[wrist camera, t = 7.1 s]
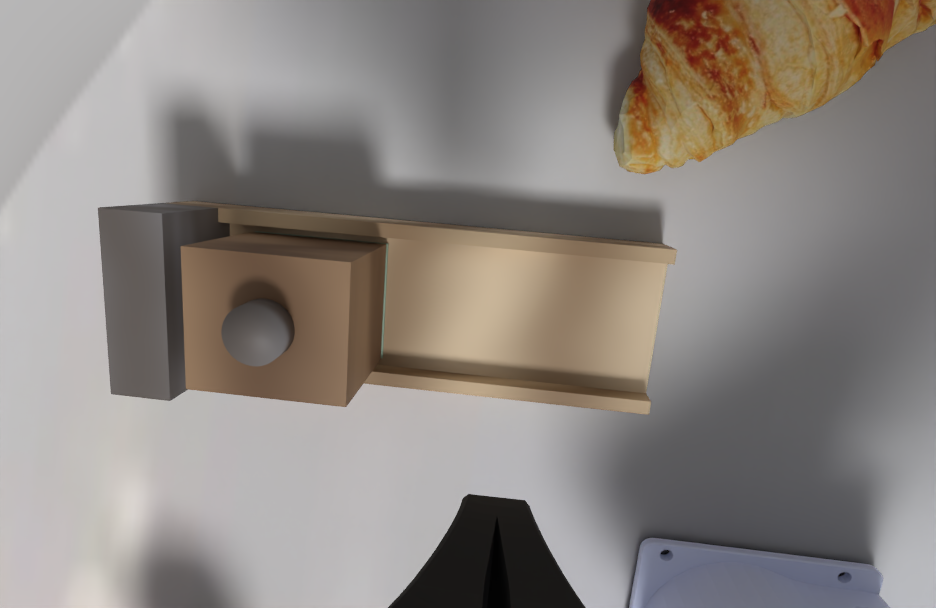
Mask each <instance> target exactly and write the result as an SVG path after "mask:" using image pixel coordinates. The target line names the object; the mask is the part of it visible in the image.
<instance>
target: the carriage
mask: <svg viewBox="0 0 936 608" xmlns="http://www.w3.org/2000/svg"><path fill="white" fill-rule="evenodd" d="M385 260H386V244H377V243H366V242H356V241H345V240H334V239H324V238H313V237H302V236H292V235H281V234H270V233H260V232H248V233H243V234H238V235H233V236H228V237H223V238H218V239H213V240H208V241H203V242H199V243H194V244H189V245H184V246H181V270H182V297H183V324H184V351H185V378H186V389H190V390H199V391H208V392H217V393H226V394H234V395H243V396H252V397H261V398H270V399H279V400H288V401H296V402H305V403H314V404H323V405H332V406H341V407H346V406H347V405H348V404H349V402H350V401H351V399H352V398H353V397H354V395H355V394H356V393H357V391H358V390H359V389H360V387H361V386H362V385H363V383H364V382H365V381H366V379H367V378H368V376H369V375H370V374H371V372H372V371H373V370H374V368H375V367H376V366H377V364H378V363H379V362H380V360H381V342H382V321H383V301H384V280H385Z"/></svg>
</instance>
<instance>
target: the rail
mask: <svg viewBox="0 0 936 608" xmlns="http://www.w3.org/2000/svg"><path fill="white" fill-rule="evenodd" d="M98 215H99V230H100V244H101V258H102V272H103V286H104V301H105V315H106V329H107V343H108V357H109V372H110V386H111V394H115V395H124V396H132V397H141V398H150V399H159V400H167V401H171V400H172V399H174V398H175V397H177V396H178V395H180V394H181V393H183V392H185V391H186V390H188V389H186V378H185V351H184V324H183V297H182V270H181V246H184V245H189V244H194V243H199V242H203V241H208V240H213V239H218V238H223V237H228V236H233V235H238V234H243V233H248V232H260V233H270V234H281V235H292V236H302V237H313V238H324V239H334V240H345V241H356V242H366V243H377V244H386V260H385V280H384V301H383V321H382V342H381V360H380V362H379V363H378V364H377V366H376V367H375V368H374V370H373V371H372V372H371V374H370V375H369V376H368V378H367V379H366V381H365V382H364V383H365V384H374V385H383V386H392V387H401V388H410V389H420V390H429V391H438V392H447V393H456V394H465V395H474V396H483V397H492V398H501V399H511V400H520V401H529V402H538V403H547V404H556V405H565V406H574V407H583V408H592V409H601V410H611V411H620V412H629V413H638V414H647V415H649V411H650V405H651V401H650V399H649V398H648V396H647V394H646V390H647V384H648V378H649V372H650V366H651V360H652V354H653V348H654V342H655V336H656V330H657V324H658V318H659V312H660V306H661V300H662V294H663V289H664V283H665V277H666V271H667V265H668V264H675V259H676V253H677V250H676V249H674V248H672V247H669V246H667V245H665V244H660V243H649V242H638V241H627V240H616V239H605V238H594V237H583V236H572V235H561V234H550V233H539V232H528V231H517V230H506V229H495V228H484V227H473V226H462V225H451V224H440V223H429V222H418V221H407V220H396V219H385V218H374V217H363V216H352V215H341V214H330V213H319V212H308V211H297V210H286V209H275V208H264V207H253V206H242V205H231V204H220V203H209V202H198V201H186V202H172V203H158V204H143V205H129V206H115V207H100V208H98Z"/></svg>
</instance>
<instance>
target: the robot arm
mask: <svg viewBox="0 0 936 608" xmlns="http://www.w3.org/2000/svg"><path fill="white" fill-rule="evenodd" d="M663 550H670V552H669V553H668V554H664V555H663V554H660V553H661V552H662V551H663ZM842 572H845V574H844V575H842V576H838V575H839V574H840V573H842ZM882 583H883V576H882V574H881V573H880V572H879V571H878V570H877V568H875V567H874V566H873V565H869V564H863V563H855V562H846V561H838V560H830V559H822V558H814V557H806V556H798V555H790V554H782V553H774V552H766V551H757V550H749V549H741V548H733V547H725V546H717V545H709V544H701V543H693V542H685V541H677V540H668V539H660V538H648V539H645V540H644V541H643V542H642V543H641V545H640V549H639V554H638V560H637V566H636V571H635V577H634V583H633V588H632V594H631V599H630V605H629V608H890V607H889V606H888V605H887V604H886V602H885V601H884V600H883V599H882V598H881V597H880V596H879V593H880V590H881V586H882ZM388 608H585V606H584V605H583V603H582V602H581V601H580V599H579V598H578V596H577V595H576V593H575V592H574V590H573V589H572V587H571V586H570V584H569V582H568V581H567V579H566V578H565V576H564V574H563V573H562V571H561V569H560V568H559V566H558V564H557V562H556V561H555V559H554V557H553V555H552V554H551V552H550V550H549V548H548V546H547V544H546V542H545V540H544V538H543V536H542V534H541V532H540V530H539V528H538V526H537V524H536V522H535V519H534V517H533V514H532V512H531V509H530V506H529V505H528V504H527V502H526V501H525V500H516V499H507V498H498V497H489V496H480V495H471V494H468V495H467V496H465V497H464V498H463V500H462V503H461V506H460V508H459V511H458V513H457V515H456V517H455V519H454V521H453V522H452V524H451V526H450V528H449V530H448V531H447V533H446V534H445V536H444V537H443V539H442V541H441V542H440V544H439V545H438V547H437V548H436V550H435V551H434V553H433V554H432V556H431V557H430V558H429V560H428V561H427V562H426V564H425V565H424V566H423V568H422V569H421V570H420V571H419V573H418V574H417V575H416V577H415V578H414V579H413V580H412V582H411V583H410V584H409V585H408V586H407V588H406V589H405V590H404V591H403V592H402V593H401V594H400V596H399V597H398V598H397V599H396V600H395V601H394V602H393V603H392V604H391V605H390V606H389V607H388Z"/></svg>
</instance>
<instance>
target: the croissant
mask: <svg viewBox="0 0 936 608" xmlns="http://www.w3.org/2000/svg"><path fill="white" fill-rule="evenodd" d="M934 24H936V0H651V1H650V4H649V6H648V8H647V23H646V27H645V40H644V43H643V46H642V49H641V52H640V61H641V67H642V70H640V72H639V75H638V77H637V78H636V79H635V80H633V81H632V82H631V84H630V86H629V88H628V90H627V91H626V95H625V97H624V99H623V103H622V107H621V110H620V113H619V117H620V118H619V123H618V127H617V129H616V130H615V132H614V151H615V154H616V157H617V160H618V163H619V166H620V167H623V168H625V169H626V170H627V171H629V172H635V173H641V174H648V173H652V172H656V171H659V170H661V169H662V167H663V166H664V165H667V166H669V167H671V168H676V167H680V166H683V165H684V163H685V162H686V161H687V160H688V159H695V160H697V161H698V162H701V161H702V160H704V159H706V158H707V157H709V156H710V155H712V153H713V152H716V151H718V150H720V149H723V148H725V147H727V146H730V145H732V144H733V143H734V142H735V141H736V140H737V139H739V138H742V137H745V136H748V135H751V134H754V133H755V132H756V131H758V130H759V129H760V128H762V127H763V126H765V125H769V124H772V123H775V122H778V121H779V120H780V119H782V118H793V117H798V116H801V115H803V114H805V113H807V112H810V111H812V110H814V109H816V108H818V107H820V106H822V105H824V104H825V103H827V102H828V101H829V100H831V99H833V98H834V97H836V96H838V95H839V94H841V93H843V92H844V91H846V90H848V89H849V88H850V87H851V86H853V85H854V84H855V83H856V82H858V81H859V80H860V79H861V78H862V76H863V75H864V74H865V73H866V72H867V71H868V70H869V69H870V68H872V67H873V66H874V65H875V63H876V60H877V61H879V59H880V58H881V56H882V55H883V53H884V52H885V51H886V50H887V49H889V48H890V47H892V46H894V45H895V44H897V43H899V42H900V41H902V40H904V39H905V38H907V37H908V36H910V35H912V34H914V33H919V32H922V31H925V30H927V28H928V27H930V26H932V25H934Z"/></svg>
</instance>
